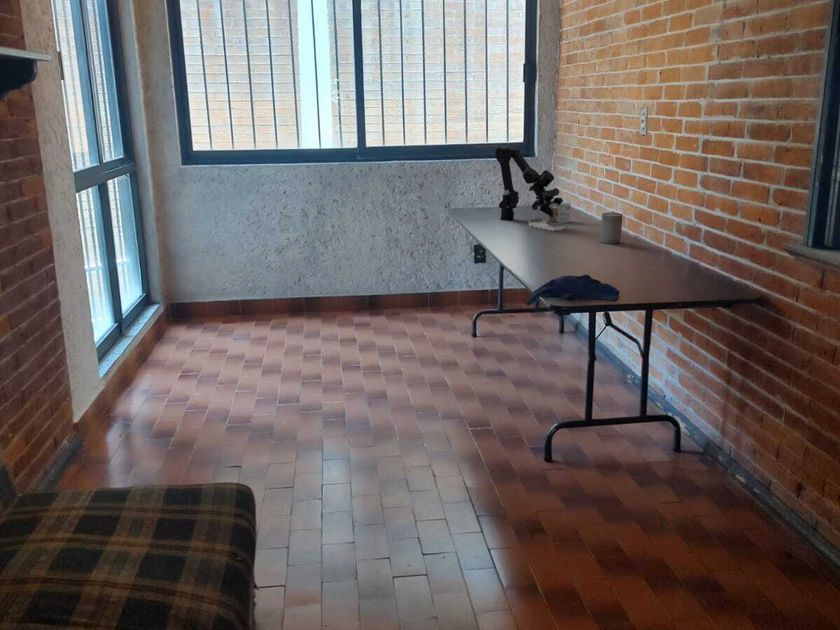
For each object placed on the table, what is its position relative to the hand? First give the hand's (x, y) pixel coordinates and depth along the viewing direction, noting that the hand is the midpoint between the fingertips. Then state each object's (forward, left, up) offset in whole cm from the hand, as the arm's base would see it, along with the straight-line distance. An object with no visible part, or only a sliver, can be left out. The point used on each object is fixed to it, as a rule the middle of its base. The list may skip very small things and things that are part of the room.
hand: (555, 216), depth 391 cm
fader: (-1, +1, -4) cm, 4 cm away
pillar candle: (+30, -23, -7) cm, 38 cm away
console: (-4, +3, -7) cm, 8 cm away
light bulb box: (0, +26, -7) cm, 27 cm away
